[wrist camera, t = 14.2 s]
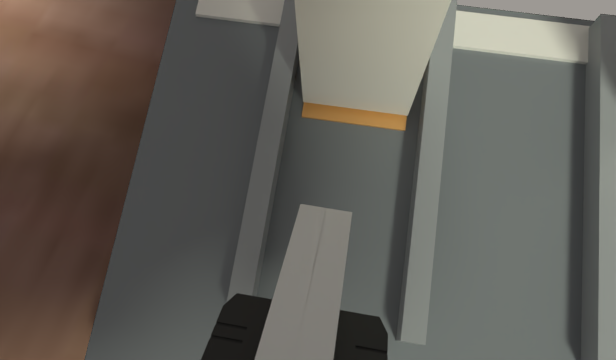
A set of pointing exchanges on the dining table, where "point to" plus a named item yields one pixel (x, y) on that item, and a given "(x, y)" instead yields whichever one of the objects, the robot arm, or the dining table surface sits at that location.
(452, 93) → the switch bank
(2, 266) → the dining table surface
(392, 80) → the tab
